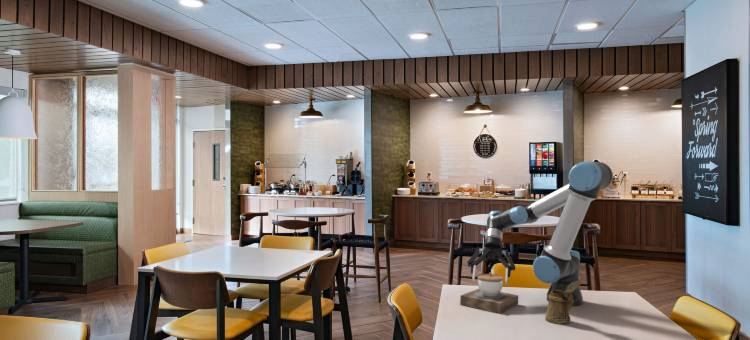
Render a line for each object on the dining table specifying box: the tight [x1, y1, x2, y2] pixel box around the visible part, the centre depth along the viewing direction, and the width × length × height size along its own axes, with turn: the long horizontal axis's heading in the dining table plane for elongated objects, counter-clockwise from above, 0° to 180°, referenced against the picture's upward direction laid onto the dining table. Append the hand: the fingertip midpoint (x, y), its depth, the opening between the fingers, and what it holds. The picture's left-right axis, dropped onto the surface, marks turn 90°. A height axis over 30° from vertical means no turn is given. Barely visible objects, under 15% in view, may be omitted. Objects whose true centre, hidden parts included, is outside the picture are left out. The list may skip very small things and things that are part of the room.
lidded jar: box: [477, 272, 504, 296], centre depth 217 cm, size 11×11×9 cm
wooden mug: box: [544, 279, 581, 325], centre depth 195 cm, size 9×14×18 cm, turn 28°
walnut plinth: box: [459, 288, 519, 314], centre depth 217 cm, size 18×18×4 cm
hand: (489, 281), depth 216 cm, fingers open, 13 cm apart
